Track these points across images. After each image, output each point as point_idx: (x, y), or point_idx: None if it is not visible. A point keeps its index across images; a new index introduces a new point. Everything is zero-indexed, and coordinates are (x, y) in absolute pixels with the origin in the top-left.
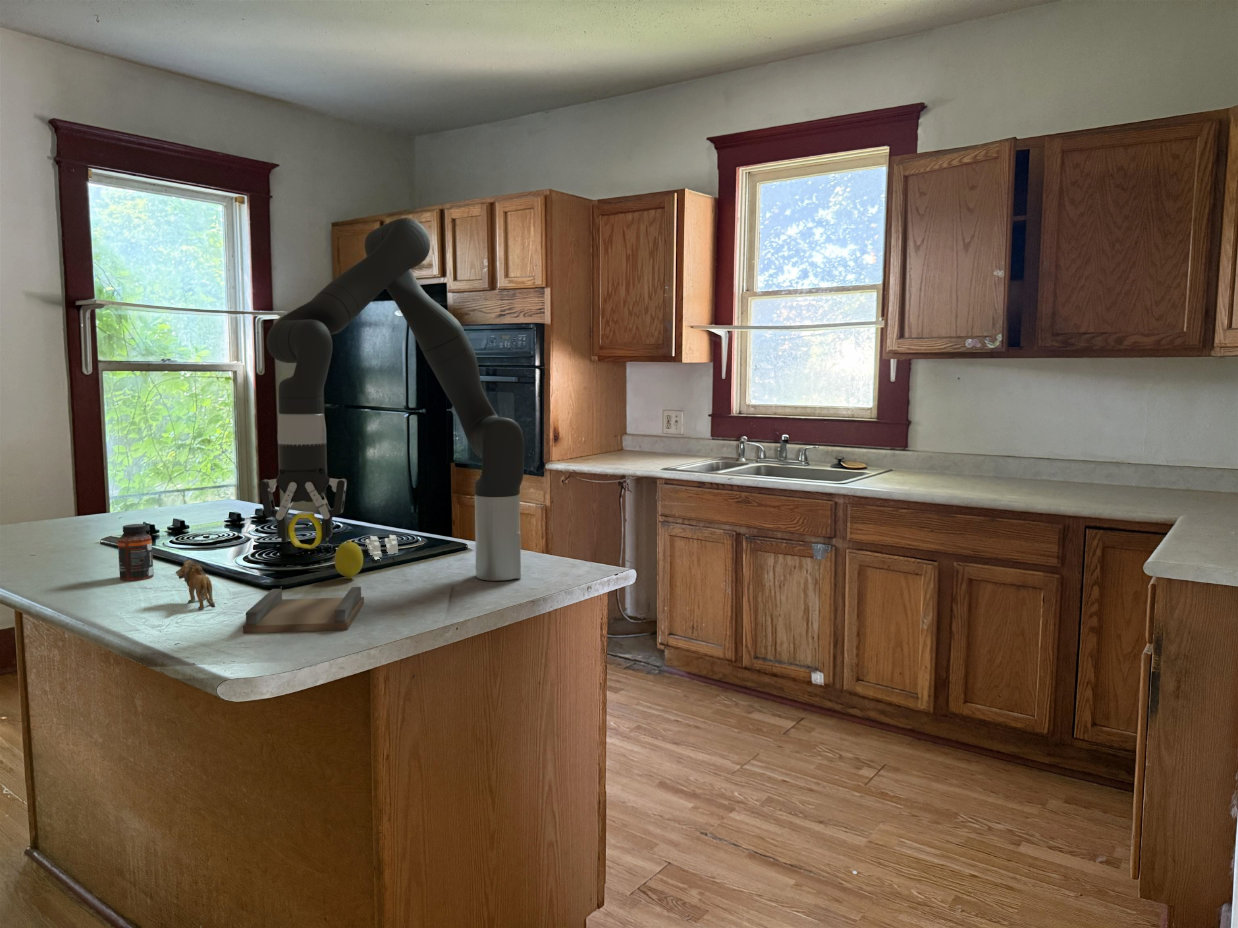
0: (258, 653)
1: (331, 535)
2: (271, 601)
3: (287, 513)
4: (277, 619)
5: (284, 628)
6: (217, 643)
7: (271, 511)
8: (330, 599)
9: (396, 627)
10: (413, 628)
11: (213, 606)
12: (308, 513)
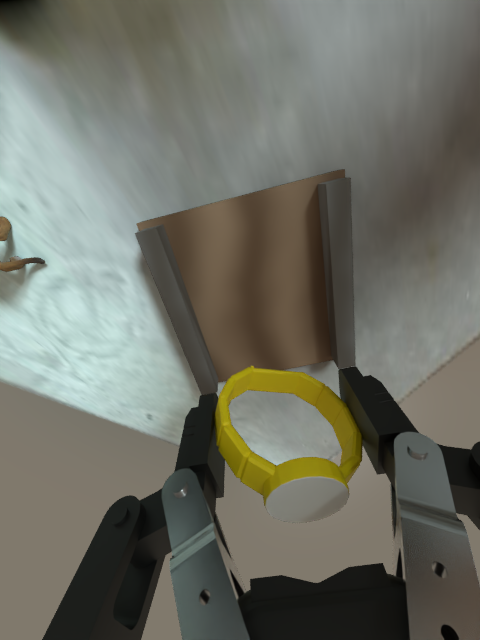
0: (266, 432)
1: (373, 379)
2: (189, 310)
3: (202, 490)
4: (234, 353)
5: None
6: None
7: (164, 557)
8: (271, 208)
9: (420, 331)
10: (447, 333)
11: (41, 262)
12: (325, 506)
